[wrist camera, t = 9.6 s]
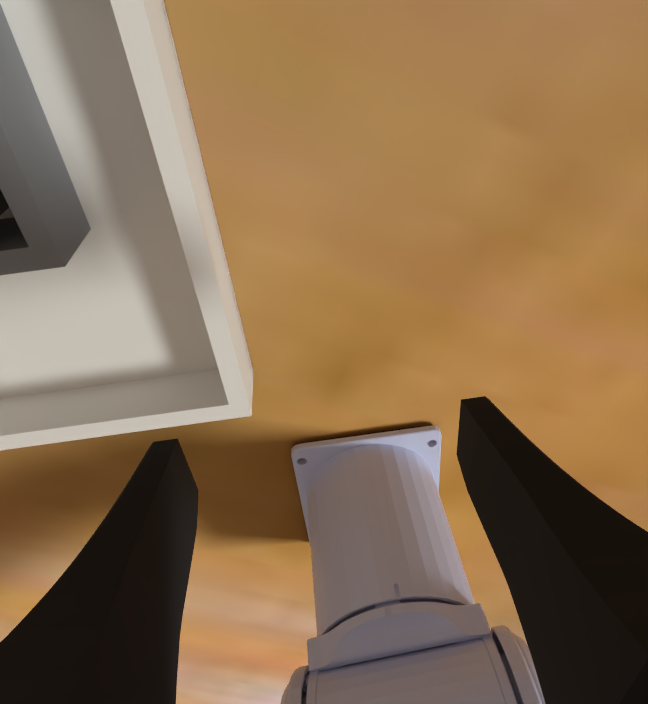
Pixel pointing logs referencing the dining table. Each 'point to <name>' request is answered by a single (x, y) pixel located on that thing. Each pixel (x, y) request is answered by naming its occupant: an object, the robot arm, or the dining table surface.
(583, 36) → the dining table surface
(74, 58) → the walled box
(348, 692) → the robot arm
